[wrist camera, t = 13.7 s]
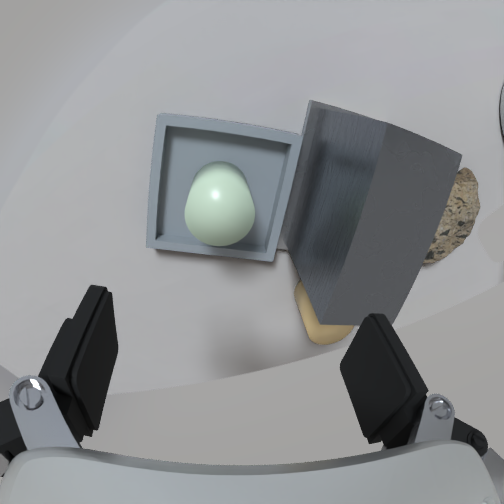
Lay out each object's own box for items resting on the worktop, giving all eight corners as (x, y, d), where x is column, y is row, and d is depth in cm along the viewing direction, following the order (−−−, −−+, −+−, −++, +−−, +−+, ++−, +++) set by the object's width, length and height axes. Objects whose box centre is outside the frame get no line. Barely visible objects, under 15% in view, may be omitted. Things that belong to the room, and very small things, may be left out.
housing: (383, 122, 25) (471, 151, 15) (344, 253, 31) (396, 330, 21) (309, 100, 24) (377, 109, 13) (275, 244, 30) (306, 329, 20)
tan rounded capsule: (341, 274, 33) (362, 308, 28) (327, 308, 35) (344, 344, 30) (300, 270, 32) (316, 306, 27) (289, 306, 34) (301, 344, 29)
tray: (297, 133, 25) (303, 136, 23) (269, 251, 30) (272, 261, 29) (161, 113, 23) (157, 114, 21) (150, 237, 28) (146, 247, 26)
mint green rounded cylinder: (252, 165, 25) (261, 187, 20) (242, 217, 28) (247, 250, 22) (195, 157, 24) (189, 176, 19) (188, 209, 27) (181, 241, 21)
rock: (388, 264, 33) (406, 285, 29) (393, 170, 28) (417, 184, 24) (454, 246, 33) (474, 263, 30) (464, 163, 28) (489, 175, 24)
